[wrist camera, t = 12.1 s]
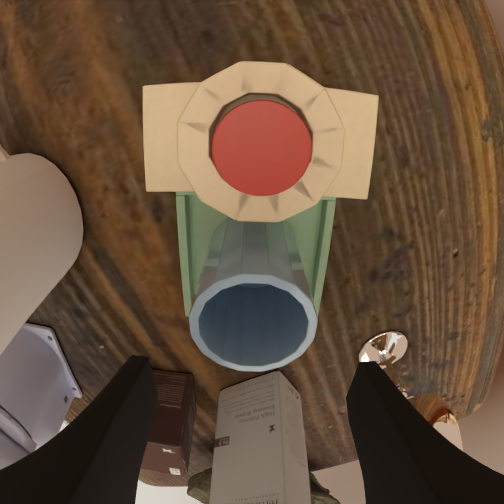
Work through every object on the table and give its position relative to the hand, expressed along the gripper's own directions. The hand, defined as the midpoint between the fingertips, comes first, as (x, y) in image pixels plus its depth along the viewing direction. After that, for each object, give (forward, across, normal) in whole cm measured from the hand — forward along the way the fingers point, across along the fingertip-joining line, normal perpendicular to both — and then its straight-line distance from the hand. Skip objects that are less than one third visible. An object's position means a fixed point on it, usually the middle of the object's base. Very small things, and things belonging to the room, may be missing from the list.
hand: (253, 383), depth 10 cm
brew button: (+5, 0, -7) cm, 9 cm away
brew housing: (+10, 0, -7) cm, 13 cm away
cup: (+10, 0, 0) cm, 10 cm away
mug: (+11, +16, -3) cm, 19 cm away
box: (+11, +8, +14) cm, 19 cm away
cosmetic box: (+11, -1, +14) cm, 18 cm away
